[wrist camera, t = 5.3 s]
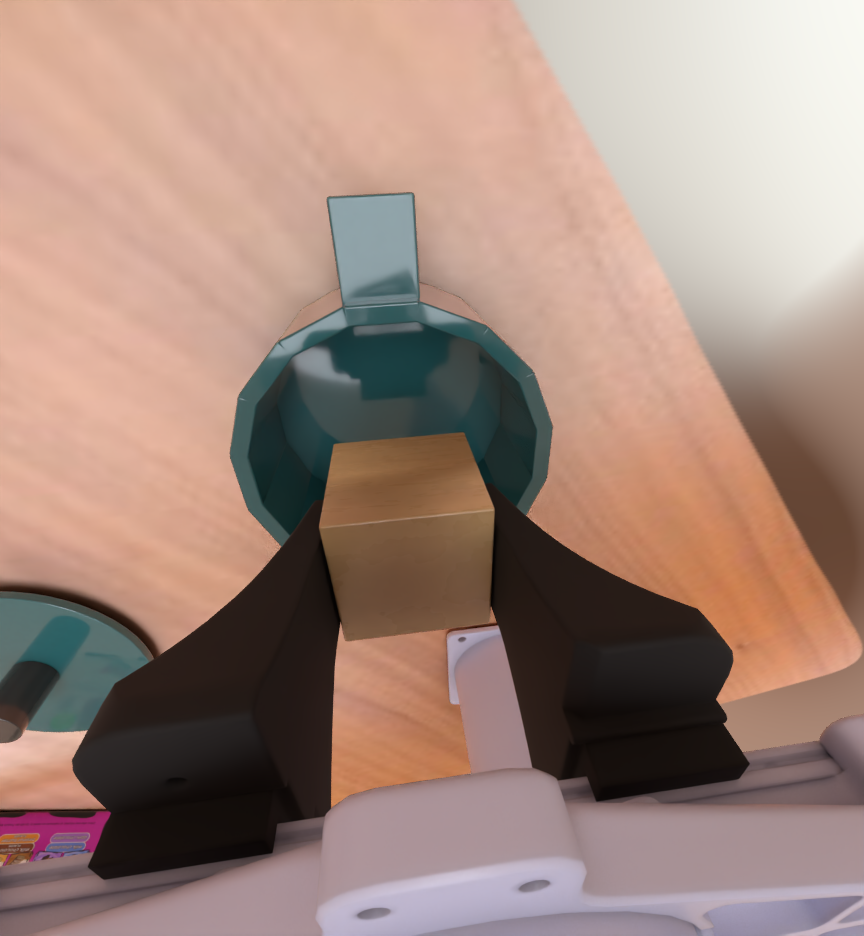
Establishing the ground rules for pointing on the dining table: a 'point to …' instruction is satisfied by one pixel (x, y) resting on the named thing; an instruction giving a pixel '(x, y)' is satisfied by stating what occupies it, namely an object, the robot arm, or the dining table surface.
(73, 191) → the dining table surface
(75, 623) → the lid
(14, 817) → the candy bar box
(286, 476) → the pot
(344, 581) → the block
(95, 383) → the dining table surface
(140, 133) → the dining table surface
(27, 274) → the dining table surface
